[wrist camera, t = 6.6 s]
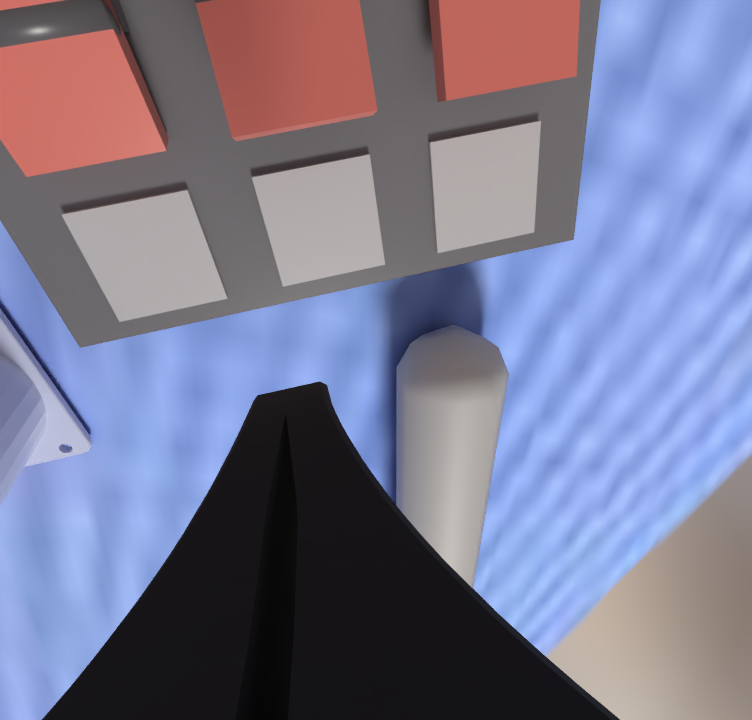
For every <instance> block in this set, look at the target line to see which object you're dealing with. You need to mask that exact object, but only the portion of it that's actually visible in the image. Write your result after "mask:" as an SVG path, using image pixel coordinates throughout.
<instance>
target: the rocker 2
mask: <svg viewBox="0 0 752 720" xmlns="http://www.w3.org/2000/svg"><path fill="white" fill-rule="evenodd" d="M195 3H196V7H197V11H198V14H199V18H200V22H201V25H202V29H203V33H204V36H205V40H206V44H207V47H208V51H209V55H210V58H211V62H212V66H213V69H214V73H215V77H216V80H217V84H218V88H219V91H220V95H221V99H222V103H223V106H224V110H225V114H226V117H227V121H228V125H229V128H230V132H231V136H232V138H233V139H234V140H235V141H241V140H246V139H251V138H256V137H262V136H267V135H272V134H278V133H283V132H288V131H293V130H299V129H304V128H309V127H315V126H320V125H325V124H331V123H336V122H341V121H346V120H352V119H357V118H362V117H368V116H373V115H374V114H375V112H376V111H377V104H376V98H375V92H374V86H373V80H372V74H371V68H370V62H369V56H368V50H367V43H366V37H365V31H364V25H363V19H362V13H361V7H360V1H359V0H195Z"/></svg>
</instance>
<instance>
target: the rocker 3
mask: <svg viewBox="0 0 752 720" xmlns="http://www.w3.org/2000/svg"><path fill="white" fill-rule="evenodd" d="M429 9H430V21H431V33H432V45H433V57H434V69H435V81H436V93H437V102H440V101H448V100H453V99H459V98H464V97H469V96H475V95H480V94H485V93H491V92H496V91H501V90H506V89H512V88H517V87H522V86H528V85H533V84H538V83H544V82H549V81H554V80H559V79H565V78H570V77H575V76H577V56H578V34H579V13H580V0H429Z"/></svg>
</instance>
